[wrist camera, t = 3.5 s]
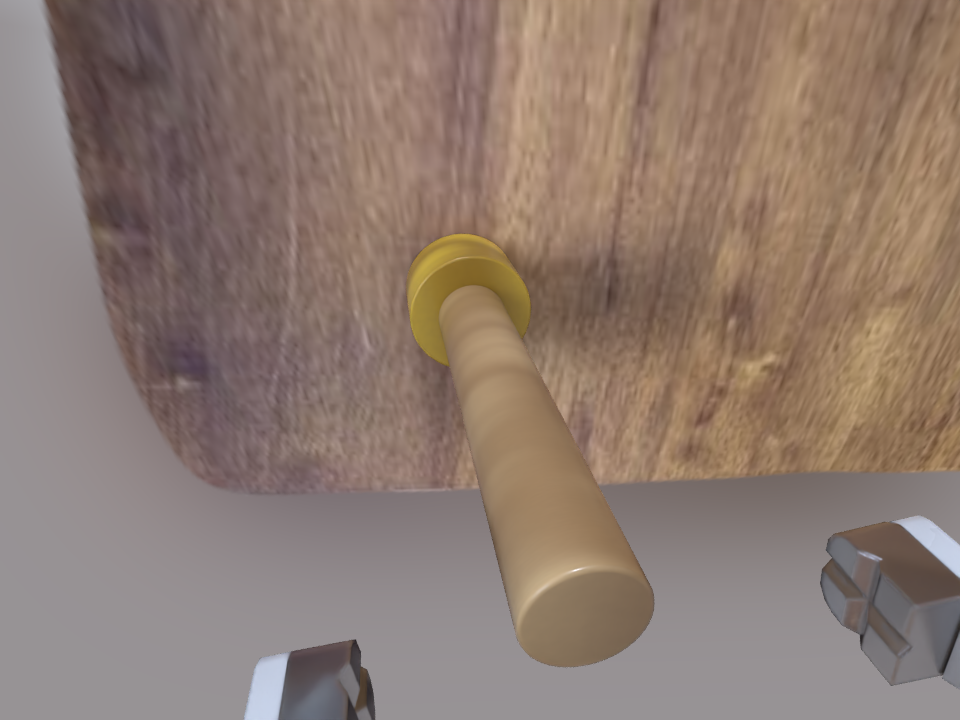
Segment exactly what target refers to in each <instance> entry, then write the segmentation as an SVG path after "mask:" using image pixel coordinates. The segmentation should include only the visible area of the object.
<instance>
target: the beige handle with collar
mask: <svg viewBox="0 0 960 720" xmlns="http://www.w3.org/2000/svg"><path fill="white" fill-rule="evenodd" d="M406 295H407V302H408V309H409V316H410V323H411V328H412V332H413V335H414V337H415V339H416V341H417V343H418V344H419V346H420V347H421V348H422V349H423V351H424V352H425V353H426V354H427V355H429V356H430V357H431V358H433V359H434V360H436V361H437V362H439V363H441V364H443V365H446V366H449V367H450V370H451V374H452V378H453V382H454V386H455V390H456V394H457V398H458V402H459V406H460V410H461V414H462V418H463V422H464V427H465V431H466V435H467V439H468V443H469V447H470V451H471V455H472V459H473V463H474V467H475V471H476V475H477V479H478V483H479V487H480V491H481V495H482V499H483V503H484V508H485V512H486V516H487V520H488V523H489V528H490V532H491V536H492V540H493V544H494V548H495V552H496V556H497V560H498V564H499V568H500V573H501V577H502V581H503V585H504V589H505V593H506V597H507V601H508V605H509V609H510V613H511V617H512V621H513V625H514V629H515V633H516V637H517V640H518V642H519V644H520V646H521V647H522V648H523V649H524V651H525V652H526V653H527V654H528V655H529V656H530V657H532V658H533V659H535V660H537V661H539V662H541V663H544V664H547V665H551V666H557V667H578V666H584V665H590V664H593V663H597V662H599V661H603V660H605V659H608V658H610V657H612V656H614V655H616V654H618V653H619V652H621V651H623V650H624V649H626V648H627V647H628V646H630V645H631V644H632V643H633V642H634V641H636V639H638V638H639V637H640V635H641V634H642V633H643V631H644V630H645V629H646V627H647V626H648V624H649V622H650V620H651V618H652V615H653V611H654V594H653V590H652V588H651V586H650V584H649V582H648V580H647V578H646V576H645V574H644V572H643V571H642V568H641V567H640V565H639V563H638V561H637V559H636V557H635V555H634V553H633V551H632V550H631V547H630V545H629V544H628V542H627V540H626V538H625V536H624V534H623V532H622V530H621V528H620V527H619V525H618V523H617V521H616V519H615V517H614V515H613V513H612V511H611V509H610V507H609V505H608V504H607V502H606V500H605V498H604V496H603V494H602V492H601V490H600V488H599V486H598V484H597V482H596V480H595V478H594V477H593V475H592V473H591V471H590V469H589V467H588V465H587V463H586V461H585V459H584V457H583V456H582V454H581V452H580V450H579V448H578V446H577V444H576V442H575V440H574V438H573V436H572V434H571V433H570V431H569V429H568V427H567V425H566V423H565V421H564V419H563V417H562V415H561V413H560V412H559V410H558V408H557V406H556V404H555V402H554V400H553V398H552V396H551V394H550V392H549V390H548V389H547V387H546V385H545V383H544V381H543V379H542V377H541V375H540V373H539V371H538V369H537V367H536V366H535V364H534V362H533V360H532V358H531V356H530V354H529V352H528V350H527V348H526V346H525V345H524V343H523V341H522V338H523V337H524V335H525V333H526V330H527V328H528V325H529V321H530V316H531V302H530V296H529V293H528V290H527V288H526V286H525V284H524V282H523V281H522V279H521V277H520V276H519V274H518V273H517V271H516V270H515V268H514V267H513V265H512V264H511V262H510V261H509V259H508V258H507V256H506V255H505V253H504V252H503V251H502V250H501V249H500V248H499V247H498V246H496V245H495V244H494V243H492V242H491V241H489V240H487V239H485V238H483V237H480V236H476V235H471V234H454V235H449V236H445V237H443V238H440V239H438V240H436V241H434V242H432V243H431V244H429V245H428V246H427V247H425V248H424V249H423V250H422V251H421V252H420V253H419V255H418V256H417V257H416V258H415V260H414V262H413V263H412V265H411V267H410V270H409V272H408V276H407V281H406Z"/></svg>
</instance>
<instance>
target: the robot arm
mask: <svg viewBox="0 0 960 720" xmlns="http://www.w3.org/2000/svg"><path fill="white" fill-rule="evenodd" d="M826 551H827V552H828V553H829V554H830V556H831V557H832V559H831V560H830V561H829V562H828V563H827V564H826V565H825V567H824V568H823V569H822V574H821V581H820V584H821V588H822V592H823V595H824V599H825V601H826V603H827V605H828V606H829V608H830V610H831V612H832V613H833V615H834V616H835V617H836V618H837V620H838V621H839V622H840V624H841V625H842V626H845V627H846V628H848V629H850V630H852V631H854V632H856V633H858V634H859V635H860V644H861V650H862V651H863V652H864V653H865V655H866V656H867V657H868V658H869V659H870V661H871V662H872V663H873V664H874V666H875V667H876V668H877V669H878V671H879V672H880V673H881V674H882V675H883V677H884V678H885V679H886V680H887V682H888V683H889V684H890V685H891V686H893V685H897V684H902V683H907V682H912V681H917V680H922V679H927V678H931V677H937V676H942V675H943V677H942V679H944V680H945V681H947V682H948V683H950V684H952V685H953V686H955V687H956V688H958V689H960V545H959V544H958V543H957V542H956V541H954V540H953V539H952V538H951V537H950V536H949V535H947V534H946V533H945V532H944V531H942V530H941V529H940V528H939V527H938V526H937V525H935V524H934V523H933V522H932V521H931V520H929V519H927V518H925V517H922V516H920V515H918V516H913V517H908V518H903V519H900V520H895V521H890V522H882V523H878V524H874V525H869V526H865V527H861V528H857V529H852V530H849V531H844V532H840V533H835V534H833V535H832V536H831V537H830V538H829V539H828V543H827V547H826ZM244 720H375V706H374V695H373V689H372V684H371V680H370V677H369V674H368V671H367V669H365V668H363V667H361V651H360V649H359V646H358V644H357V641H356V640H349V641H344V642H339V643H333V644H328V645H323V646H318V647H312V648H307V649H301V650H296V651H291V652H287V653H282V654H277V655H272V656H267V657H263V658H260V659H259V661H258V663H257V665H256V667H255V669H254V673H253V678H252V682H251V688H250V692H249V696H248V701H247V706H246V711H245V715H244Z"/></svg>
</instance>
